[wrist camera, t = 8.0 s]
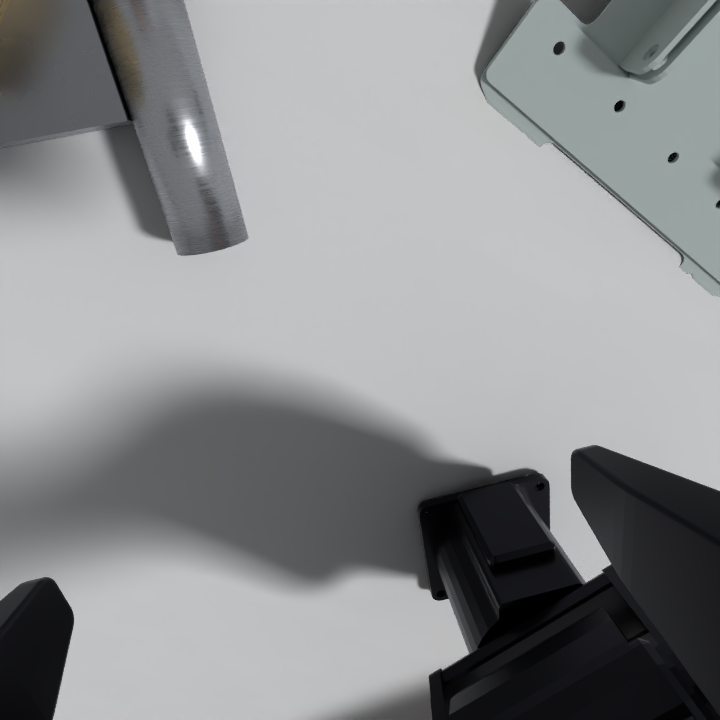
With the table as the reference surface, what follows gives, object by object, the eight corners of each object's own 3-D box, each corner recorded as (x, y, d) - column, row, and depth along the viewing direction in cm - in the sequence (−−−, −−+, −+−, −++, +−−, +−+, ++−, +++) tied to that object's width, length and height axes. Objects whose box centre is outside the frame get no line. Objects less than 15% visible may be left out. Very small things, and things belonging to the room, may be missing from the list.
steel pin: (261, 236, 16) (197, 257, 15) (226, 234, 18) (165, 253, 17) (183, -65, 13) (91, -74, 12) (148, -33, 15) (63, -37, 13)
